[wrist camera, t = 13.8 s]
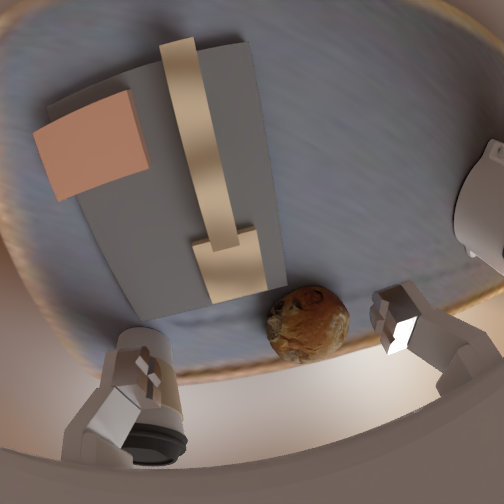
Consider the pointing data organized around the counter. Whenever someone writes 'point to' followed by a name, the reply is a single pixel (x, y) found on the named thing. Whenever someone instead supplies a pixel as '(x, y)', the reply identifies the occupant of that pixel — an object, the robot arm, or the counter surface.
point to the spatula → (210, 184)
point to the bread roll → (307, 325)
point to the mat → (181, 184)
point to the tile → (93, 145)
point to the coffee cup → (156, 419)
